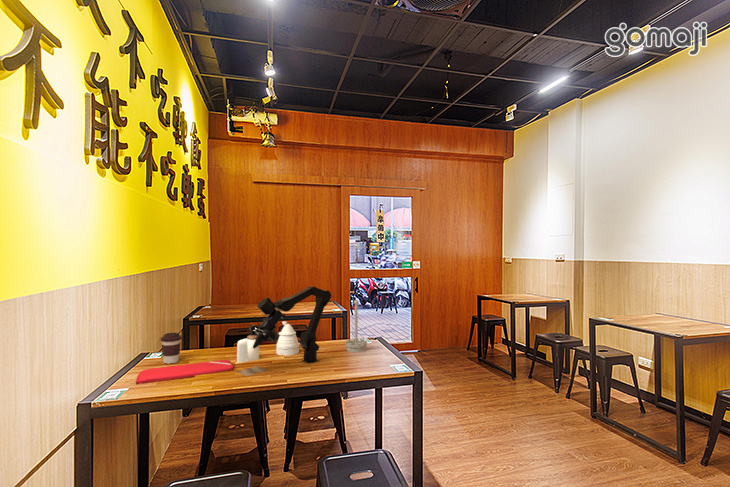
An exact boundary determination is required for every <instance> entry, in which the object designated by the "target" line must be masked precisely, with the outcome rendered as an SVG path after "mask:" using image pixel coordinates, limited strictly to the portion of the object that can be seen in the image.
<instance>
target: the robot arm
mask: <svg viewBox="0 0 730 487" xmlns="http://www.w3.org/2000/svg"><path fill="white" fill-rule="evenodd" d="M311 296H313V297H315V299H314V300H315V301H314V302H315V305H314V306H315V307H314V309H313V311H312V314H311V317H310V320H309V323H308V326H307V329H306V330H305V331H302V332H301V334H300V337H299V346H301V348H302V349H303V352H304V353H303V359H302V360H301V362H303V363H306V364H313V363H316V362H319V359H318V356H317V355H318V351H319V349H320V346H319V344H317V343H316V341H317V329H318V326H319V325H320V321H321V318H322V315H323V313H324V309H325V307H326V306H327V305H328V304H329V303H330V301H331V299H332V293H331V292H330V291H329V290H325V289H321V288H318V287H316V286H314V285H313V286H311V285H310V286H308V287H307V288H305V289H303V290H300V291H299V292H297V293H295V294H294V295H293V294H292V295H291V296H289V297H284V298H280V299H279V300H277V301H275V302H273V301H272V300H271V298H269V297H268V296H267V297H265V298H264V299H262V300H261V301H259V302H258V304H257V307H256V308H258V310H260V311H261V312H262V313H263V315H266V316H267V315H268V316H267V317H264V318H263V319H262V320H263V322H262V323H261V324H258V325H256V324H250V325H249V327H248V329H249V331H250V332H249V335H258V336H257V338H256V341H255V343H254V345H253V348H254V349H255V348H256V347H257V346H259V347H260V345H261V344H263V343H265V342H272V343H275V342H276V341H278V339H279V334H278V333H277V331H276V330H275V329H277V326H276V325H277V324H278V322H279V321H280V320H281V319H283V320H286V313H288V312H289V311H291V310H292V309H293V308H294V307H295V305H297V304H298V303H300V302H302V301H303V300H305V299H307V298H309V297H311ZM284 312H285V313H284Z"/></svg>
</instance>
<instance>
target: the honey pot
mask: <svg viewBox="0 0 730 487" xmlns="http://www.w3.org/2000/svg"><path fill="white" fill-rule="evenodd" d="M281 322H282V325H283V327H282V329H281V331H279V332H278V337H279V339H278V340H277V342H276V349H275V350H276V351H275V352H276V353H275V354H276V355H278V356H282V355H283V356H287V357H288V356H294V355H298V354H299V353H300V350H299V349H300V342H299V341H298V337H297V335H296V334H297V332H296V331H295V329H294V328H293V326H292V325H291V324H290V323H288V322H287V321H285V320H284V321H281Z"/></svg>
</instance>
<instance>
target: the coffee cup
mask: <svg viewBox="0 0 730 487" xmlns="http://www.w3.org/2000/svg"><path fill="white" fill-rule="evenodd" d="M182 338H183V336H182V335H181V334H179V333H178V332H169V333H165V334H164V335H163V336H161V337H160V341H161V350H162V351H161V352H162V353H161V354H162V361H163V364H165V363H167V364H168V365H170V363H172V364H175V363H178V362H179V360H180V359H179V358H180V352H181V340H182Z"/></svg>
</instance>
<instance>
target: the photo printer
mask: <svg viewBox="0 0 730 487" xmlns="http://www.w3.org/2000/svg"><path fill="white" fill-rule="evenodd" d="M236 362H237V363H245V362H250V361H249V360H247V337H246V338H243V339H240V340H238V341H237V344H236Z"/></svg>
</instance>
